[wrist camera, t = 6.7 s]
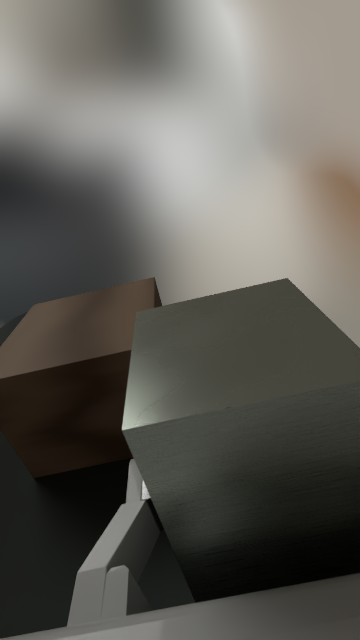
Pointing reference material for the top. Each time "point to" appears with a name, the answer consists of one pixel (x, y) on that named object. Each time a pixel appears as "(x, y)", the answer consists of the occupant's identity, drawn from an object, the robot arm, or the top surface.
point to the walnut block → (71, 378)
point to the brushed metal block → (248, 437)
